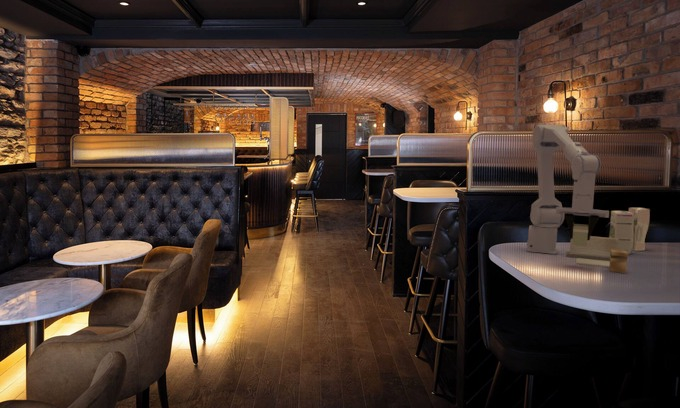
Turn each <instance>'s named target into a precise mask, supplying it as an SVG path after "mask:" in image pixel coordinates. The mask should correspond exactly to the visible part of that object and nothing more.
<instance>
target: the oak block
mask: <svg viewBox="0 0 680 408" xmlns="http://www.w3.org/2000/svg"><path fill="white" fill-rule="evenodd" d="M628 255H629V254H628V253H627V252H626V251H622V250H611V253H610V266H609V267H608V268H609V272H611V273H619V274H626V272H627V265H628V264H627V263H628V262H627V261H628Z"/></svg>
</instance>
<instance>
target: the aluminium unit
mask: <svg viewBox="0 0 680 408" xmlns="http://www.w3.org/2000/svg"><path fill="white" fill-rule="evenodd" d="M569 242H570V243H569V251H566V252H565V253H566V254H565V256H566V257H567V258H574V257H575V258H581V259H591V260H601V261H610V253H611V250H618V242H619V240H618V238H609V237H604V236H603V237H602V236H594V235H593V236H592V235H591V236H590V240H587V246H577V245H572V239H570V241H569Z"/></svg>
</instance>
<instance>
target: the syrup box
mask: <svg viewBox="0 0 680 408" xmlns="http://www.w3.org/2000/svg"><path fill="white" fill-rule="evenodd" d="M628 211H629V210H628ZM628 211H627V210H611V211H610V222H609V223H610V225H609V236H608V238H618V240H619V242H618V250H622V251H626V252H627V253H628V254H627V255H631V251H632V250H631V241H632V227H633V213H630V212H628Z"/></svg>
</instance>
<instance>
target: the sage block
mask: <svg viewBox="0 0 680 408" xmlns="http://www.w3.org/2000/svg"><path fill="white" fill-rule="evenodd" d="M588 226H589V224H581V223H573V239H572V245H577V246H587V236H588Z"/></svg>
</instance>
